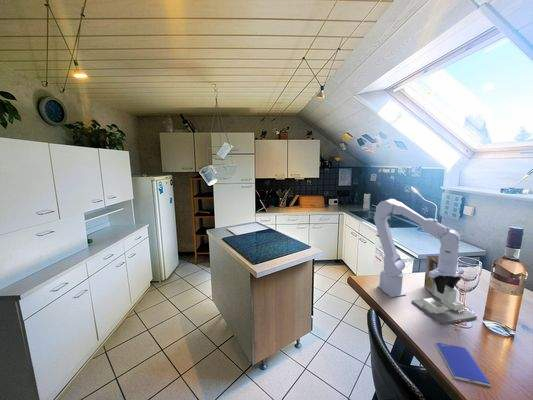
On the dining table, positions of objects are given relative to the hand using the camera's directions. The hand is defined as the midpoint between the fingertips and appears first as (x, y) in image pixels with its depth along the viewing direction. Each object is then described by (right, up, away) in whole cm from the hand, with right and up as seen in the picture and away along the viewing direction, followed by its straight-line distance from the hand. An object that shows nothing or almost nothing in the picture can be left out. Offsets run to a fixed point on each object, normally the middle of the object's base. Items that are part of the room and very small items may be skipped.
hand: (444, 291), depth 91 cm
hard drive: (-14, -13, -23) cm, 30 cm away
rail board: (0, -8, +1) cm, 8 cm away
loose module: (0, -3, 0) cm, 3 cm away
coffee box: (+8, -6, +15) cm, 18 cm away
